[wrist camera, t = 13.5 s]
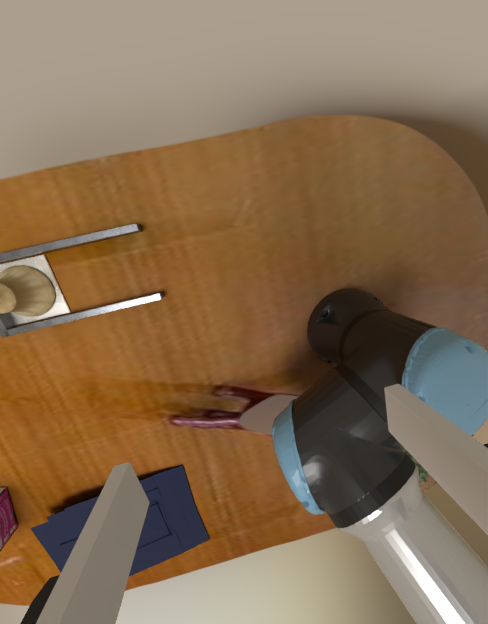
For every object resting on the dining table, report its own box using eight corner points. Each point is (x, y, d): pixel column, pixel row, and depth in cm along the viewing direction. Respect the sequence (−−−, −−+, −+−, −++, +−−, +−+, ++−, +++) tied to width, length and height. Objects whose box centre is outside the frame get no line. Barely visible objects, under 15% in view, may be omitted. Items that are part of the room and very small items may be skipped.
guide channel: (164, 296, 40) (161, 299, 38) (12, 333, 39) (2, 337, 37) (140, 224, 37) (136, 223, 35) (-26, 262, 35) (-41, 262, 33)
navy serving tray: (35, 506, 47) (22, 527, 43) (182, 453, 52) (182, 467, 48) (82, 581, 53) (75, 603, 50) (209, 527, 58) (210, 544, 55)
